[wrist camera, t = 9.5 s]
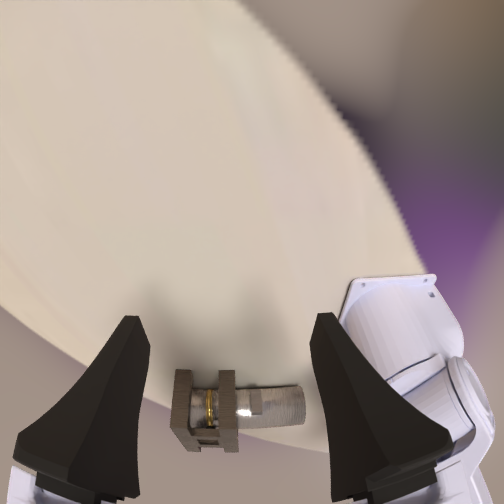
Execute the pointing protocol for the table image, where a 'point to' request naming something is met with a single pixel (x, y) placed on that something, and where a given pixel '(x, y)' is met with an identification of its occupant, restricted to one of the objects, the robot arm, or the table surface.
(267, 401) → the grey metal cylinder
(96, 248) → the table surface
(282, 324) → the table surface
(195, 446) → the brown bracket plates
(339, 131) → the table surface
